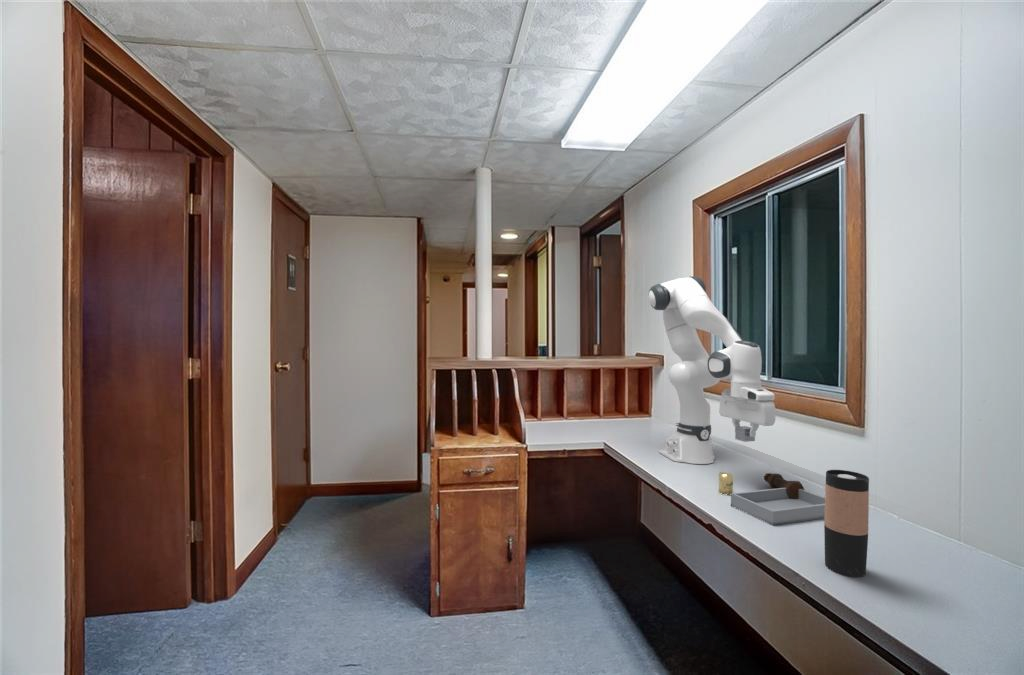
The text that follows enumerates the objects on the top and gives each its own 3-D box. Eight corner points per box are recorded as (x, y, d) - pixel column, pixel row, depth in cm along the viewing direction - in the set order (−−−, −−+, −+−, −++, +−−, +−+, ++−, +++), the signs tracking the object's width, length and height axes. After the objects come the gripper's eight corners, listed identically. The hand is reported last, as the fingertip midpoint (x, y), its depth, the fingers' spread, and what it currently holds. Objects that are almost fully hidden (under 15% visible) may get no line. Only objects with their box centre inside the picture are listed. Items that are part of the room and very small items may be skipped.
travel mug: (816, 559, 106) (818, 468, 106) (853, 561, 106) (855, 470, 105) (835, 576, 99) (838, 479, 99) (876, 579, 98) (878, 480, 98)
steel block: (735, 439, 156) (735, 426, 156) (745, 438, 157) (745, 426, 157) (744, 441, 152) (744, 429, 152) (754, 440, 153) (755, 428, 153)
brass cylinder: (715, 491, 152) (716, 472, 152) (726, 490, 153) (726, 471, 153) (725, 495, 148) (725, 476, 148) (735, 494, 149) (735, 475, 149)
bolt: (770, 489, 159) (798, 503, 144) (757, 481, 159) (783, 494, 144) (779, 473, 159) (807, 486, 144) (765, 465, 159) (793, 477, 144)
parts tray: (730, 505, 139) (731, 493, 139) (794, 498, 146) (794, 486, 146) (772, 525, 125) (772, 511, 125) (840, 516, 132) (840, 502, 132)
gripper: (714, 388, 164) (714, 429, 164) (762, 395, 144) (762, 442, 144) (729, 387, 165) (729, 428, 166) (779, 395, 146) (778, 441, 146)
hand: (745, 434), depth 155 cm, fingers closed on steel block, 4 cm apart
